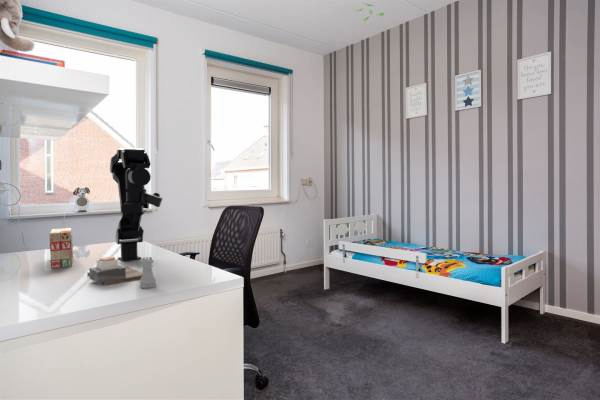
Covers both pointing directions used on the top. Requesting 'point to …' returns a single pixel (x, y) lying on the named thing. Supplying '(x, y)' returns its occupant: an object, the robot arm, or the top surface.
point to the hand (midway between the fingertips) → (136, 231)
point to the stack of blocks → (61, 248)
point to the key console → (114, 275)
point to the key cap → (107, 263)
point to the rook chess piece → (147, 274)
